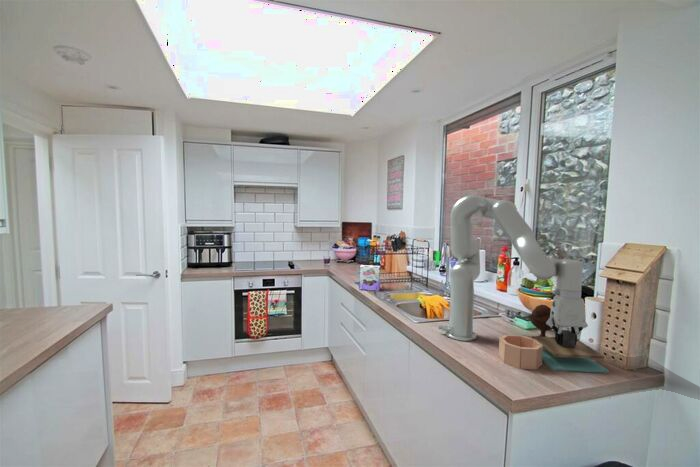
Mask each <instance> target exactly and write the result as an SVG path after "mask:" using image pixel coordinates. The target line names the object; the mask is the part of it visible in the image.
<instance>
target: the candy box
mask: <svg viewBox="0 0 700 467" xmlns="http://www.w3.org/2000/svg"><path fill="white" fill-rule="evenodd" d="M358 277H359V278H358V280H359V282H358V290H359V291H370V290H375V291H374V292H380V289H381V287H380V286H381V265H369V264H368V265H367V264H366V265H365V264H360V266H359V276H358ZM361 289H362V290H361Z"/></svg>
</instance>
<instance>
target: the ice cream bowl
mask: <svg viewBox="0 0 700 467" xmlns="http://www.w3.org/2000/svg"><path fill="white" fill-rule="evenodd" d="M550 313H551V307H550V306H548V305H546V304H539V305H537V306H536V307H535V308H534V309H533V310H532V311H531V313H530V314H529V320H530V322H531V324H532V325H533V326H534V327H535V328H536V329H538V330H540V335H536V337H547V335H546V332H547V331H551V330H553V329H552V328H551V327H550V326H548V325H547V324H546V322H547V320H548V319H549V318H550ZM552 324H553V325H554V326H555V323H552Z"/></svg>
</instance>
